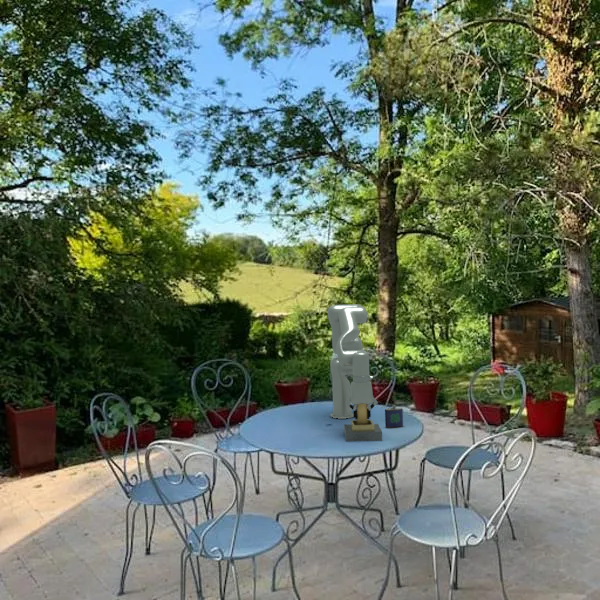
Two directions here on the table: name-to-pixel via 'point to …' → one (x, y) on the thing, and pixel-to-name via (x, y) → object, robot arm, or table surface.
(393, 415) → the wallet
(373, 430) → the grey square socket base
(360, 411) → the cylinder
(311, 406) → the table surface
